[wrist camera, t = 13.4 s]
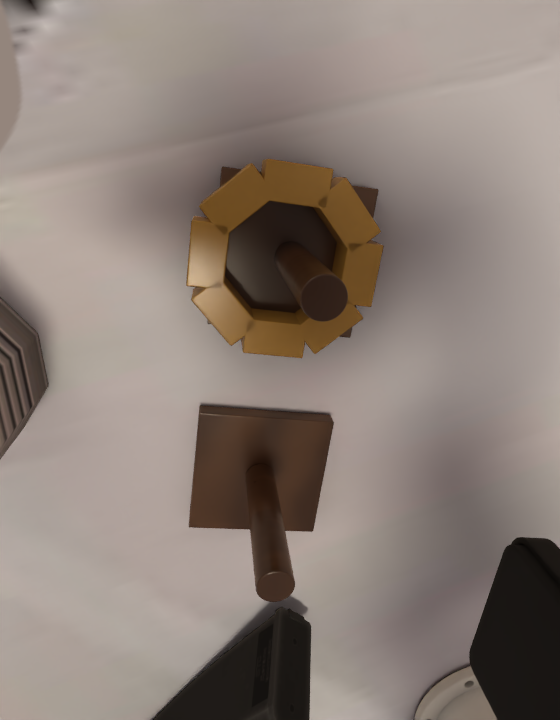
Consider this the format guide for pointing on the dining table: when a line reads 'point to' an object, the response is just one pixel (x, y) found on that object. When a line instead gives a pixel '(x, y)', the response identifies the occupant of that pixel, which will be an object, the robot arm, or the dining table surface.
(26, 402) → the can
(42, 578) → the dining table surface
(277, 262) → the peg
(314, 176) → the ring
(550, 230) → the dining table surface
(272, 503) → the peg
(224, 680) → the magazine
